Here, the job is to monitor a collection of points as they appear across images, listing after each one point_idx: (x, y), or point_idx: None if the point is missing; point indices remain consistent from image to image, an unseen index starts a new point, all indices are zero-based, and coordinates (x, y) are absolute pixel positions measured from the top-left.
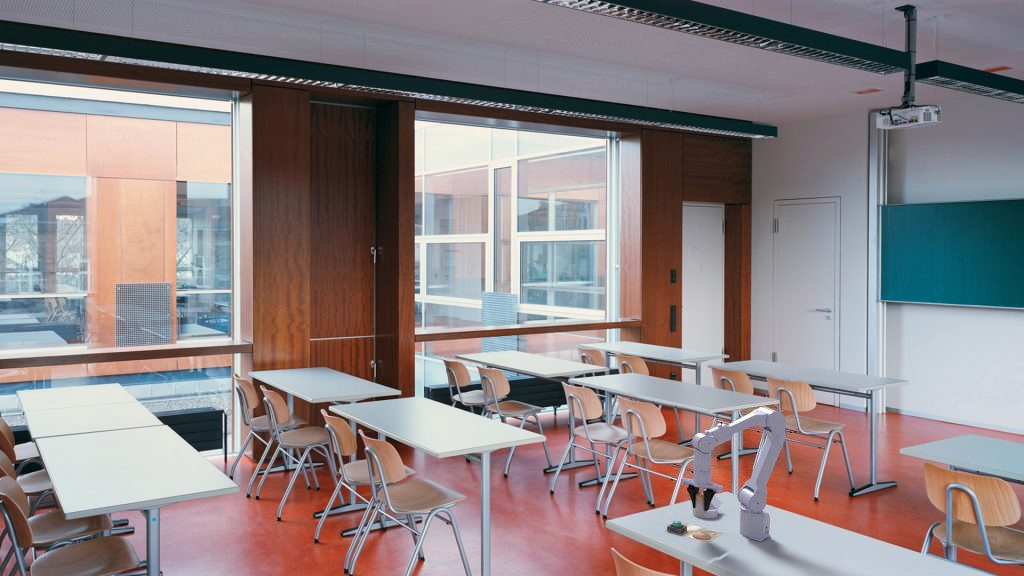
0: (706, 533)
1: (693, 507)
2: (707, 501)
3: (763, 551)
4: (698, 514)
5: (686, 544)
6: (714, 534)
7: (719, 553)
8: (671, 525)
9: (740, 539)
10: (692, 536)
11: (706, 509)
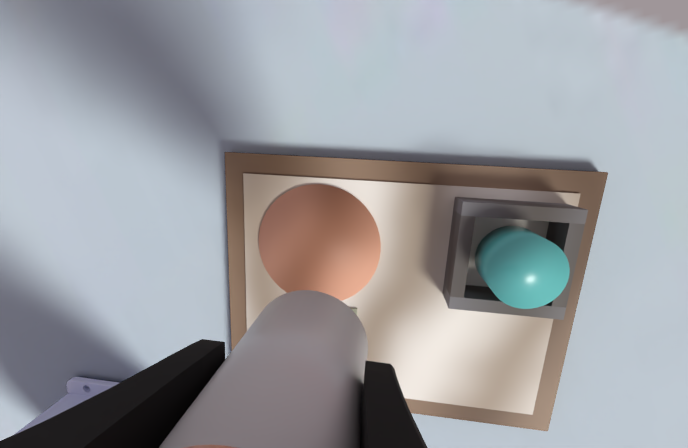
0: None
1: (382, 367)
2: (5, 441)
3: (4, 261)
4: (306, 297)
5: (356, 75)
6: None
7: (132, 69)
8: None
9: (160, 355)
10: (367, 208)
11: (179, 355)
